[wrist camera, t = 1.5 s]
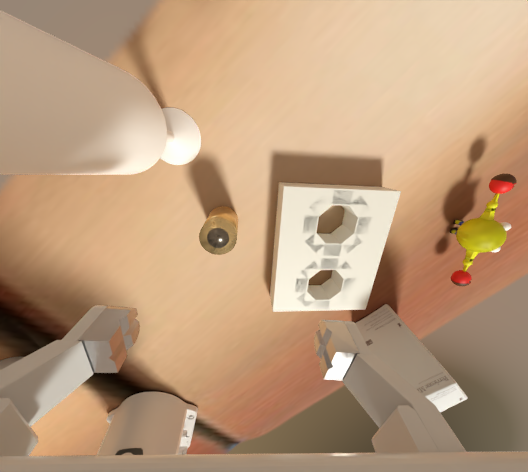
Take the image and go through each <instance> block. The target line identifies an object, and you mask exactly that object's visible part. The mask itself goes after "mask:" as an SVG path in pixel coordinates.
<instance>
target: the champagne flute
mask: <svg viewBox="0 0 528 472" xmlns="http://www.w3.org/2000/svg"><path fill="white" fill-rule="evenodd" d="M200 146H201V135H200V131H199V128H198V126H197V124H196V123H195V121H194V120H193V119H192V118H191V117H190V116H189V115H188V114H187V113H185V112H184V111H182V110H180V109H177V108H163V109H161V107H160V105H159V104H158V102H157V100H156V98H155V97H154V96H153V94H152V93H151V92H150V90H149V89H148V88H147V87H146V86H145V85H144V84H143V83H142V82H141V81H140V80H139V79H137V78H136V77H134V76H133V75H131V74H130V73H128V72H127V71H124V70H122V69H120V68H118V67H116V66H114V65H112V64H110V63H108V62H106V61H104V60H102V59H100V58H98V57H95V56H93V55H92V54H90V53H87V52H85V51H83V50H81V49H79V48H77V47H75V46H73V45H71V44H69V43H67V42H65V41H63V40H61V39H59V38H57V37H55V36H52V35H50V34H48V33H46V32H44V31H42V30H40V29H38V28H36V27H34V26H32V25H30V24H28V23H26V22H24V21H22V20H20V19H18V18H15V17H14V16H11V15H9V14H7V13H5V12H3V11H1V10H0V175H99V174H136V173H140V172H143V171H145V170H147V169H149V168H150V167H152V166H153V165H154V164H155V163H156V162H157V161H158V160H159V159H160V158H161V159H162V160H164V161H165V162H167V163H170V164H174V165H183V164H187V163H189V162H191V161H192V160H193V159H194V158H195V157H196V156H197V154H198V152H199V150H200Z"/></svg>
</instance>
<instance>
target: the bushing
mask: <svg viewBox="0 0 528 472" xmlns="http://www.w3.org/2000/svg"><path fill="white" fill-rule="evenodd" d="M237 228H238V217H237V214H236V213H235V212H234V210H232V209H231V208H229V207H226V206H220V207H217V208H215V209H213V210H212V211H211V213H210V215H209V216H208V218H207V220H206V222H205V223H204V225H203V227H202V229H201V231H200V234H199V240H200V243H201V245H202V247H203V248H204V249H205V250H206V251H208V252H210V253H212V254H217V255H221V254H225V253H228V252H229V251H231V250H232V249H233V248H234V246H235V244H236V240H237Z"/></svg>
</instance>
